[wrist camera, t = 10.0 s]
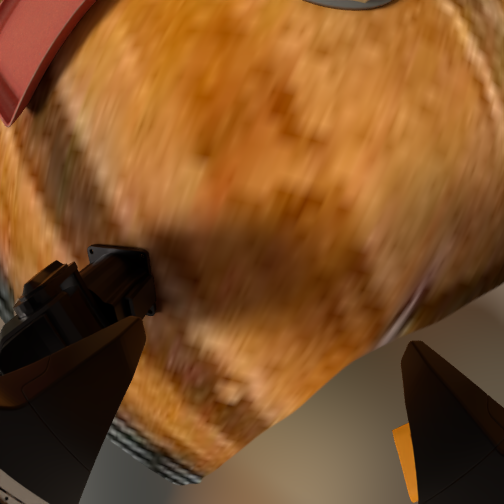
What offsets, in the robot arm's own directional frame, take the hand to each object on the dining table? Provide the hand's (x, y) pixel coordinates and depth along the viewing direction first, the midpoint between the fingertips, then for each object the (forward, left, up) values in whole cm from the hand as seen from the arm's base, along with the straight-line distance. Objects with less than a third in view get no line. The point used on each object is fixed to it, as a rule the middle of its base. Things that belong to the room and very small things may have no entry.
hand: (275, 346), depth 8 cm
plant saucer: (-26, +22, -14) cm, 37 cm away
